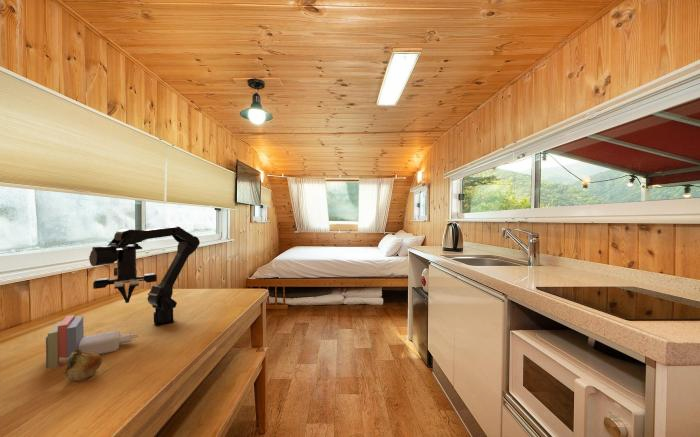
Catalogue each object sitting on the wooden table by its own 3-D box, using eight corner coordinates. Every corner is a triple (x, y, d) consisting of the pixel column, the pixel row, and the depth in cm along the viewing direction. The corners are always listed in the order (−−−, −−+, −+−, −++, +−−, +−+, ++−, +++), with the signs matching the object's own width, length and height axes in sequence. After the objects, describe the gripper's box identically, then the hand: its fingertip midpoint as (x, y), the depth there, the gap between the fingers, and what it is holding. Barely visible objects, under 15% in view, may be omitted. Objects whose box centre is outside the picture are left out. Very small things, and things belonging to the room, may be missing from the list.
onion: (76, 388, 72) (76, 357, 72) (56, 383, 75) (56, 353, 75) (109, 372, 80) (108, 344, 80) (90, 368, 82) (89, 341, 82)
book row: (83, 348, 96) (83, 313, 96) (76, 362, 86) (75, 323, 86) (56, 353, 92) (55, 317, 92) (45, 369, 82) (44, 328, 82)
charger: (138, 347, 96) (78, 360, 87) (138, 338, 104) (83, 349, 95) (137, 333, 96) (77, 345, 87) (138, 325, 104) (83, 335, 95)
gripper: (155, 257, 119) (156, 294, 119) (97, 262, 108) (98, 302, 108) (156, 260, 110) (157, 300, 110) (92, 265, 99) (93, 309, 99)
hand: (127, 302), depth 107 cm, fingers closed
